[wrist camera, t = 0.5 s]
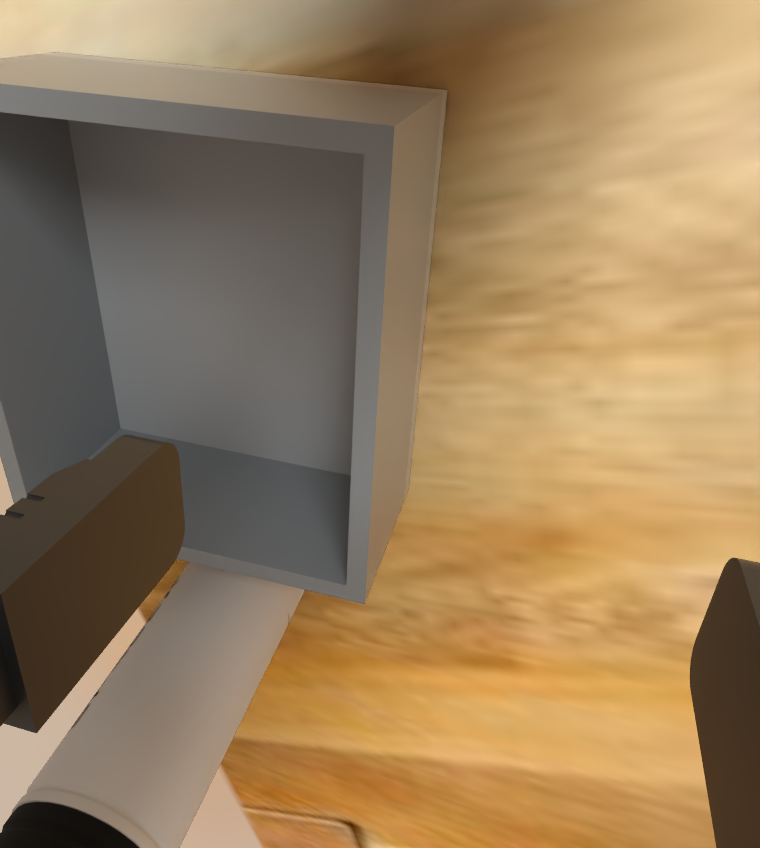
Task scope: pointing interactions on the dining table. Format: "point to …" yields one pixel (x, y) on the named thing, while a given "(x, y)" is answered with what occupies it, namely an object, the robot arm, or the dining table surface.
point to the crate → (221, 296)
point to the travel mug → (158, 719)
